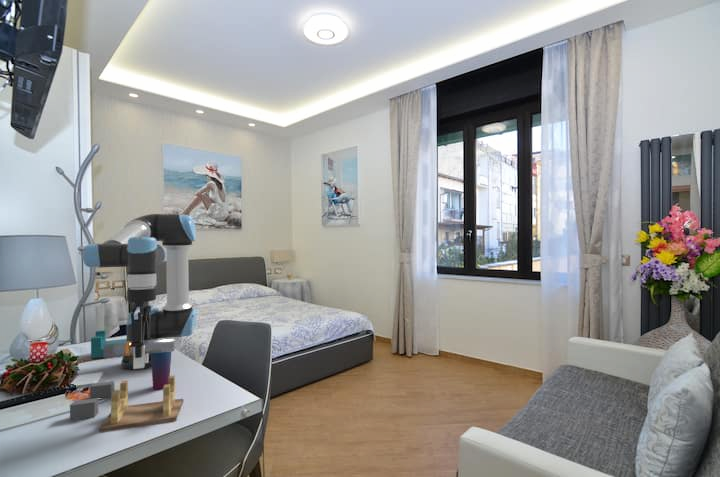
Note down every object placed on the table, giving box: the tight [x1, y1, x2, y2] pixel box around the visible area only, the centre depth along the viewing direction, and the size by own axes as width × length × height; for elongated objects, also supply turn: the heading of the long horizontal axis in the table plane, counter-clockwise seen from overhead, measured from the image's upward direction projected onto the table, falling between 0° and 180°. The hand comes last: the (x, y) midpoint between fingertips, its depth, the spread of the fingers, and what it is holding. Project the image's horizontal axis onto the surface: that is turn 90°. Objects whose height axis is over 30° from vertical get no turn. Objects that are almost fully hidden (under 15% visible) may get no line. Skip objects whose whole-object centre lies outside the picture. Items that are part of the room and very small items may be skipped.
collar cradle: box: [98, 374, 184, 433], centre depth 105 cm, size 13×19×10 cm
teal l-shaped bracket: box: [90, 329, 127, 359], centre depth 164 cm, size 18×11×10 cm, turn 117°
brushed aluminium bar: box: [103, 337, 176, 358], centre depth 105 cm, size 18×4×4 cm, turn 110°
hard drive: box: [70, 371, 104, 389], centre depth 131 cm, size 2×8×12 cm
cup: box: [151, 351, 173, 391], centre depth 126 cm, size 7×7×15 cm
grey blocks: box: [69, 380, 115, 422], centre depth 111 cm, size 17×6×4 cm, turn 19°
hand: (141, 365), depth 105 cm, fingers closed on brushed aluminium bar, 4 cm apart
